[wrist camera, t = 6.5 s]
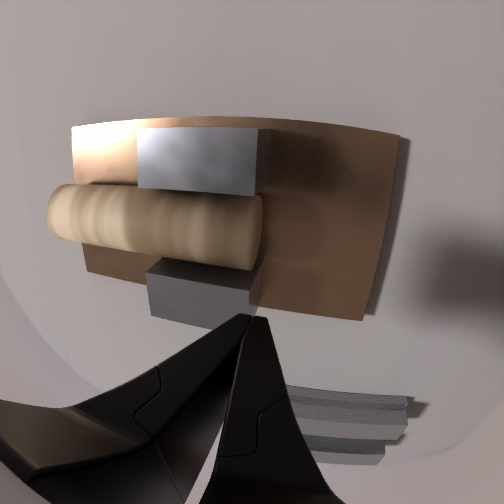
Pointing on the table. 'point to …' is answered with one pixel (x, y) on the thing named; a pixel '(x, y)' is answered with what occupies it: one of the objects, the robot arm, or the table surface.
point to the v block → (347, 424)
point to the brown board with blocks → (274, 210)
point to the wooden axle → (160, 222)
